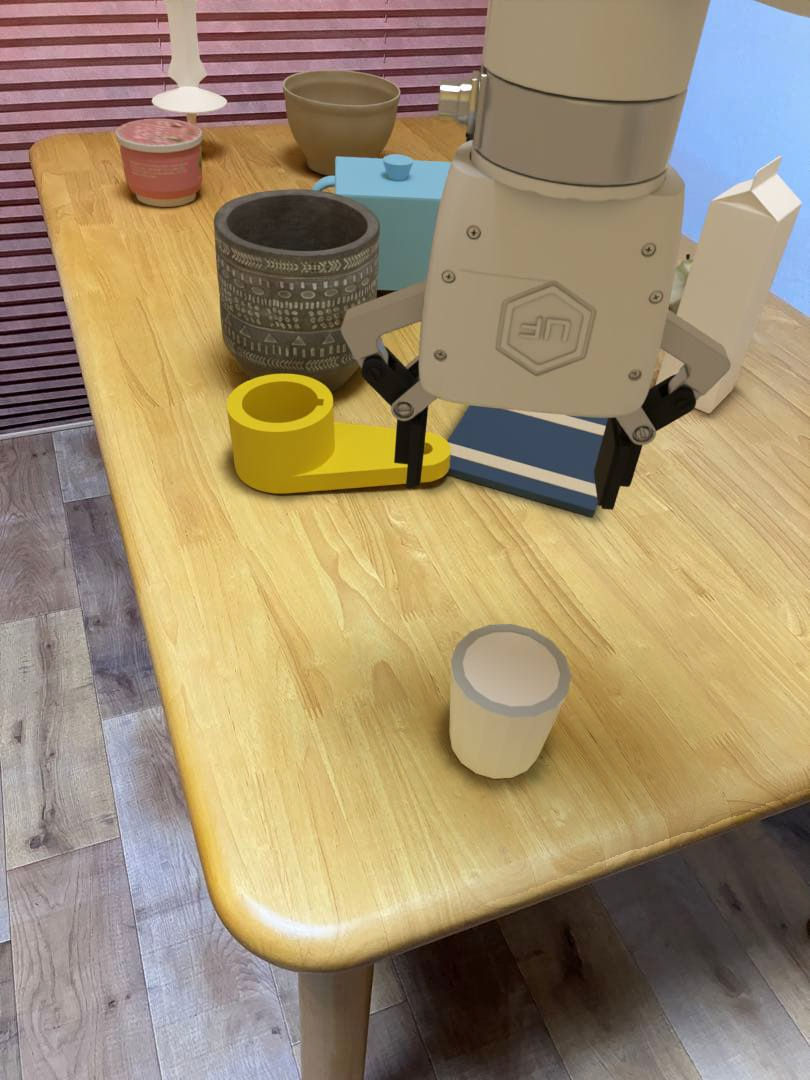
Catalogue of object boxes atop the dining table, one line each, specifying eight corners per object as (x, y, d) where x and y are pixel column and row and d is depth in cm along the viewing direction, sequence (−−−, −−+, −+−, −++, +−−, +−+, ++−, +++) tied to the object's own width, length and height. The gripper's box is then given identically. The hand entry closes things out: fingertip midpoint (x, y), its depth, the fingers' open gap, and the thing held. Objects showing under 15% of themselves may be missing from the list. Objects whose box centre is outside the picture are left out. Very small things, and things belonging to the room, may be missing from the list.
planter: (245, 423, 77) (235, 263, 67) (210, 345, 87) (196, 194, 77) (394, 399, 82) (405, 245, 72) (345, 327, 91) (348, 183, 81)
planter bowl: (277, 183, 120) (274, 98, 113) (292, 144, 132) (291, 65, 125) (393, 192, 121) (398, 108, 113) (398, 153, 133) (402, 74, 125)
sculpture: (160, 168, 121) (129, -97, 101) (155, 143, 128) (126, -108, 108) (234, 166, 124) (218, -93, 104) (226, 142, 131) (209, -104, 111)
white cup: (493, 809, 50) (511, 737, 46) (416, 730, 54) (426, 656, 49) (572, 748, 54) (597, 676, 49) (496, 678, 58) (512, 605, 53)
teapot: (308, 301, 95) (307, 172, 86) (310, 258, 103) (309, 135, 94) (506, 308, 97) (526, 183, 88) (493, 265, 105) (510, 146, 96)
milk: (732, 391, 87) (819, 164, 73) (708, 415, 83) (794, 182, 69) (677, 368, 90) (749, 145, 75) (651, 391, 86) (722, 161, 71)
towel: (624, 429, 81) (627, 421, 80) (592, 517, 71) (595, 509, 70) (481, 391, 84) (483, 383, 83) (431, 470, 74) (432, 462, 73)
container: (170, 217, 109) (162, 151, 104) (107, 197, 113) (97, 132, 107) (223, 193, 116) (219, 130, 111) (162, 175, 120) (155, 112, 114)
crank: (227, 492, 70) (218, 430, 66) (242, 432, 76) (235, 372, 72) (451, 496, 70) (455, 435, 66) (448, 436, 76) (451, 376, 72)
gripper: (332, 136, 30) (328, 512, 42) (831, 184, 30) (690, 549, 41) (358, 78, 36) (349, 424, 47) (779, 118, 36) (667, 456, 47)
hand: (508, 482), depth 44 cm, fingers open, 9 cm apart
